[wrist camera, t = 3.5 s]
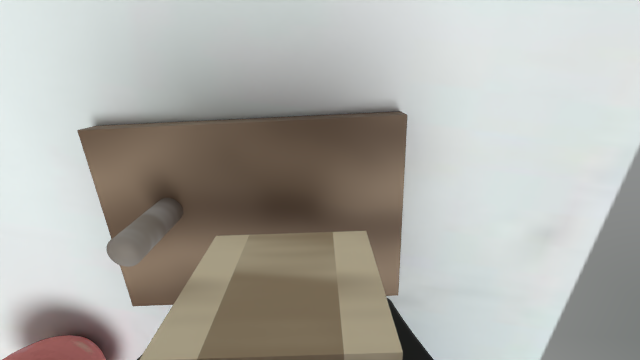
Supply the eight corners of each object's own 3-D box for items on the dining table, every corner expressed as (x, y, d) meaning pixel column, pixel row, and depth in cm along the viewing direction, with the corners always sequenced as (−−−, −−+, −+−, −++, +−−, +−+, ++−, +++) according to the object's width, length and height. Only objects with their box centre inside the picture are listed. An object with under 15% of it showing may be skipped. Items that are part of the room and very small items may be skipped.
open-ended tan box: (363, 344, 13) (391, 505, 8) (235, 348, 13) (186, 511, 8) (366, 230, 11) (403, 352, 6) (216, 235, 11) (138, 360, 6)
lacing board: (392, 280, 22) (419, 353, 16) (144, 291, 22) (85, 366, 16) (400, 111, 18) (438, 129, 12) (96, 125, 18) (-6, 150, 12)
